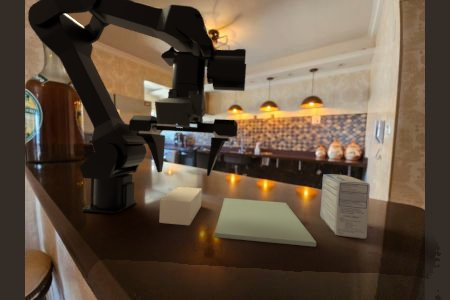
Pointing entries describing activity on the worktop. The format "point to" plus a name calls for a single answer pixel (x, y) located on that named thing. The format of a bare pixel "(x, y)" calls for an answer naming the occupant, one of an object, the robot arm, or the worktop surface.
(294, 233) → the mat
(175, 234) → the worktop surface
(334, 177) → the medicine box
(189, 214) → the block
